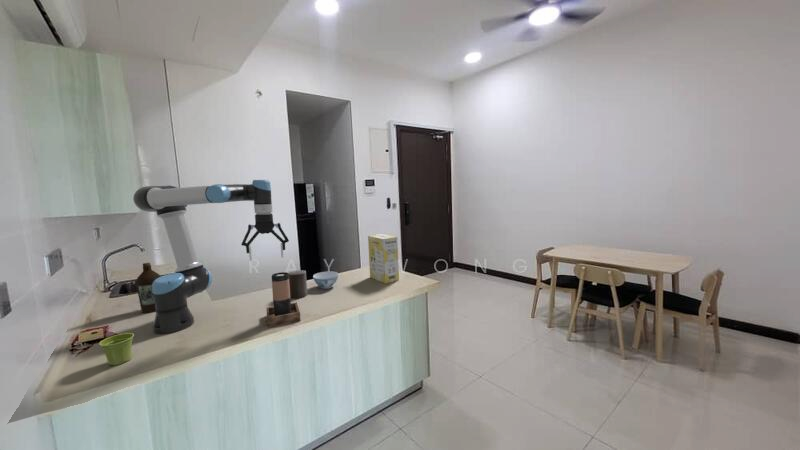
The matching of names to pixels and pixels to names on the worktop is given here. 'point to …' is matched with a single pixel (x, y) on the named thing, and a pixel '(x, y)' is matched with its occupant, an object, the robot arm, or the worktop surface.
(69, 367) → the worktop surface
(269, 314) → the walnut caddy
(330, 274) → the chinaware
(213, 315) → the worktop surface
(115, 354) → the plant pot
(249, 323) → the worktop surface
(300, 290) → the pillar candle
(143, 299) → the olive oil
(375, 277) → the pasta box
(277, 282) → the travel mug
